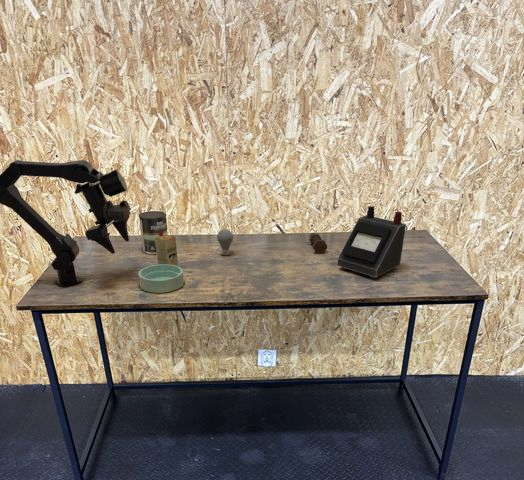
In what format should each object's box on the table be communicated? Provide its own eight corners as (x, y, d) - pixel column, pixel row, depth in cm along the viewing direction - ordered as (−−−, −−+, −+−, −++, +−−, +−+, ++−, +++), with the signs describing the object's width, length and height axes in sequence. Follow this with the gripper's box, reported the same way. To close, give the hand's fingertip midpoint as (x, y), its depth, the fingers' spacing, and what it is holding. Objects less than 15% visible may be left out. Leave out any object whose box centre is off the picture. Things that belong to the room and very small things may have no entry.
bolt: (314, 245, 206) (321, 256, 193) (304, 239, 204) (310, 250, 191) (322, 233, 203) (329, 243, 190) (312, 227, 202) (318, 237, 189)
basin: (131, 285, 166) (129, 272, 163) (166, 273, 175) (164, 261, 172) (157, 297, 157) (156, 284, 155) (192, 284, 166) (191, 271, 164)
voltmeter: (336, 269, 178) (340, 213, 168) (361, 257, 188) (367, 204, 178) (374, 281, 168) (382, 223, 158) (399, 268, 179) (407, 213, 168)
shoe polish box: (178, 269, 177) (175, 237, 171) (168, 274, 174) (165, 240, 168) (168, 267, 180) (164, 234, 174) (158, 271, 176) (154, 238, 170)
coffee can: (174, 250, 195) (171, 214, 188) (151, 256, 189) (147, 219, 182) (160, 244, 202) (157, 209, 194) (138, 249, 196) (133, 214, 188)
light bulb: (225, 251, 194) (224, 226, 189) (236, 254, 191) (236, 229, 186) (214, 255, 190) (213, 229, 185) (226, 258, 187) (225, 232, 182)
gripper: (101, 207, 144) (126, 255, 152) (132, 185, 159) (153, 230, 167) (73, 215, 149) (98, 261, 157) (105, 193, 163) (127, 236, 171)
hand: (120, 247), depth 163 cm, fingers open, 9 cm apart
